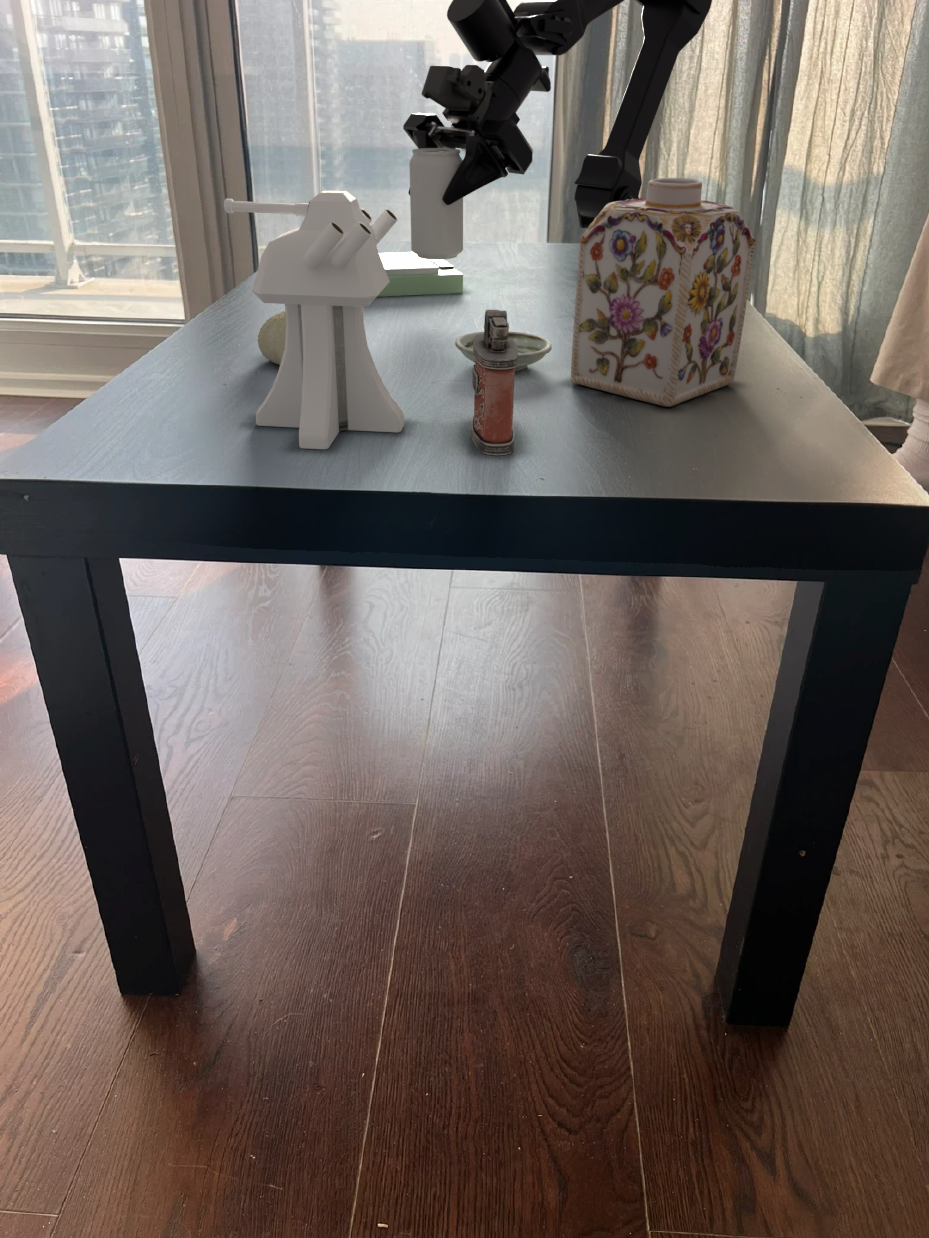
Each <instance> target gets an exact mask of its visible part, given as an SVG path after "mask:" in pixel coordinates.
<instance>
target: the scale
mask: <svg viewBox="0 0 929 1238" xmlns="http://www.w3.org/2000/svg"><path fill="white" fill-rule="evenodd" d="M378 253H379V255H380V258H381V260H382V263H383V265H384V268H385V271H386V273H387V276H388V278H389V281H390V282H389V283H388V284H387V285H386V287H385V288H384V289H383V290H382V291H381V292H380V293H379V295H378V296H377V297H376V298H382V297H383V298H384V297H401V296H403V297H405V296H406V297H407V296H422V295H423V296H424V295H425V296H427V295H447V294H449V295H450V294H463V293H464V273H462V272H460V271H458V269H455V266H454V265H453V264H451V263H449V262H448V261H446V260H445V259H444V260H429V259H422V258H419V257H417V254H415V253H414V252H413V251H406V252H405V251H403V252H378Z"/></svg>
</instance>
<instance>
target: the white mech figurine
mask: <svg viewBox="0 0 929 1238" xmlns="http://www.w3.org/2000/svg"><path fill="white" fill-rule="evenodd" d="M223 210H224V212H225V213H226V214H235V213H236V212H237V213H255V214H258V213H259V214H273V215H274V214H275V215H291V216H292V215H293V216H294V215H295V216H296V217H304V219H303V220H302V222H301V224H300V226H299V227H295V228H293V229H291V230H287V231H286V232H284V233H282V234H280V235H278V236H277V237H275V238H273V239H272V240H270V241H269V242H268V243H267V245H266V247H265V248H264V250H263V252H262V254H261V257H260V261H259V264H258V267H257V270H256V274H255V278H254V280H253V285H252V288H251V292H252V293H253V294H254V295H255V296H256V297H257V298H258V299H259V300H260V301H261V302H262V303H263V304H280V305H281V304H282V305H284V311H285V314H286V338H285V350H284V353H283V357H282V360H281V364H280V365H279V368H278V370H277V374H276V377H275V378H274V381H273V384H272V386H271V389H270V390H269V392H268V393H267V395H266V398H264V400H263V402H262V403H261V405H260V406H259V407H258V409H257V410H256V413H255V423H256V424H255V425H256V426H258V427H259V426H260V427H279V428H298V445H299V446H298V447H299V448H300V449H307V450H308V449H310V450H328V449H329V448H330V447H331V445H332V444H333V442H334V441H335V439H336V437H338V435H339V433H340V432H344V431H357V432H358V431H359V432H378V433H379V432H381V433H401V432H402V430H403V428H404V426H405V415H404V412H403V410H402V408H400V406H399V405H398V403H397V402H396V401H395V400H394V398H393V396H392V395H391V394H390V392H389V390H388V389H387V387H386V386H385V384H384V382H383V380H382V377H381V376H380V374H379V371H378V369H377V367H376V365H375V362H374V359H373V356H372V354H371V351H370V348H369V345H368V341H367V333H366V329H365V328H366V327H365V321H364V308H367V307H368V306H369V305H371V303H372V302H373V301H374V300H376V298H378V297H377V296H378V295H379V293H380V292H381V291H382V290H383V289H384V288H385V287H386V285H387V284H388V283H389V282H390V281H389V278H388V276H387V273H386V271H385V268H384V265H383V263H382V260H381V258H380V255H379V253H380V252H379V250H378V246H377V245H378V244H379V243H380V242H381V241H382V239H383V238H384V237H385V236H386V235H387V234H388V232H389V231H390V230H391V229H392V228H393V227H394V225H395V224H396V223H397V222H398V218H397V216H396V215H395V214H394V213H393V212H392V211H391V210H389V209H388V208H385V209H384V210H383V211H382V213H381V214H380V215H379V216H378V217H377V219H376V220H374V222H373V223H372V221H373V218H372V216H371V215H370V213H368V212H367V211H366V210H365V209H364V208H361V206H360V204H359V201H358V198H357V197H356V196H354V195H352V194H351V193H350V192H348V191H347V190H322V191H320V192H318V194H317V195H315V196H314V197H313V198H311V199H310V200H309V201H308V202H295V203H282V202H281V203H280V202H263V201H261V202H260V201H242V200H234V199H233V198H225V199H224V200H223ZM371 223H372V224H371Z"/></svg>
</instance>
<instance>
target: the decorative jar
mask: <svg viewBox="0 0 929 1238" xmlns="http://www.w3.org/2000/svg"><path fill="white" fill-rule="evenodd" d="M702 191H703V181H701V180H699V179H696V178H691V177H688V178H687V177H664V178H663V177H661V178H654V179H650V180H649V181H648V183H647V190H646V197H639V199H631V200H630V199H627V200H625V201H616V202H611V203H608V204H607V205H606V206H605V207H604V208H603V209H602V211H601V212H600V213H599V214H598V215H597V217H596V218H595V219H594V221H593V222H592V223H591V224H590V225H589V227H588V228H586V229H585V231H584V233H583V234H582V235H581V236H580V241H579V253H578V264H577V277H576V288H575V300H574V314H573V325H572V326H573V327H572V328H573V329H572V344H571V365H570V382H571V384H575V385H580V386H582V387H587V388H591V389H595V390H599V391H602V392H606V393H610V394H614V395H617V396H622V397H626V398H629V399H632V400H636V401H641V402H644V403H649V404H652V405H657V406H660V407H664V408H670V407H673V406H677V405H678V404H681V403H683V402H687V401H690V400H692V399H694V398H697V397H700V396H702V395H705V394H708V393H710V392H713V391H716V390H718V389H721V388H723V387H726V386H729V385H730V384H732V383H733V382H734V380H735V376H736V372H737V367H738V359H739V355H740V354H739V353H740V348H741V341H742V336H743V330H744V329H743V328H744V323H745V316H746V310H747V309H746V308H747V302H748V293H749V286H750V279H751V271H752V264H753V259H754V252H755V251H754V250H755V243H756V238H755V237H754V236H753V233H752V231H751V228H750V226H749V225H748V224H747V222H746V221H745V219H744V217H743V216H742V214H741V212H740V211H739V210H737V209H736V208H735V207H733V206H731V205H728V204H722V203H719V202H715V201H710V200H702Z"/></svg>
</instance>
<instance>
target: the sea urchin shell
mask: <svg viewBox="0 0 929 1238" xmlns="http://www.w3.org/2000/svg"><path fill="white" fill-rule="evenodd" d="M285 338H286V314H285V310H283V311H280V312H277V313H276V314H274V315H272V316H271V317H269V318H268V319H266V321H265V322H264V323H263V324H262V325H261V327H260V328H259V331H258V335H257V344H258V348H259V350H260V352H261V354H262V356H263V357H265V359H266V360H269V361H270V362H272V363H273V364H276V365H279V366H280V364H281V360H282V357H283V353H284V350H285Z"/></svg>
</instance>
